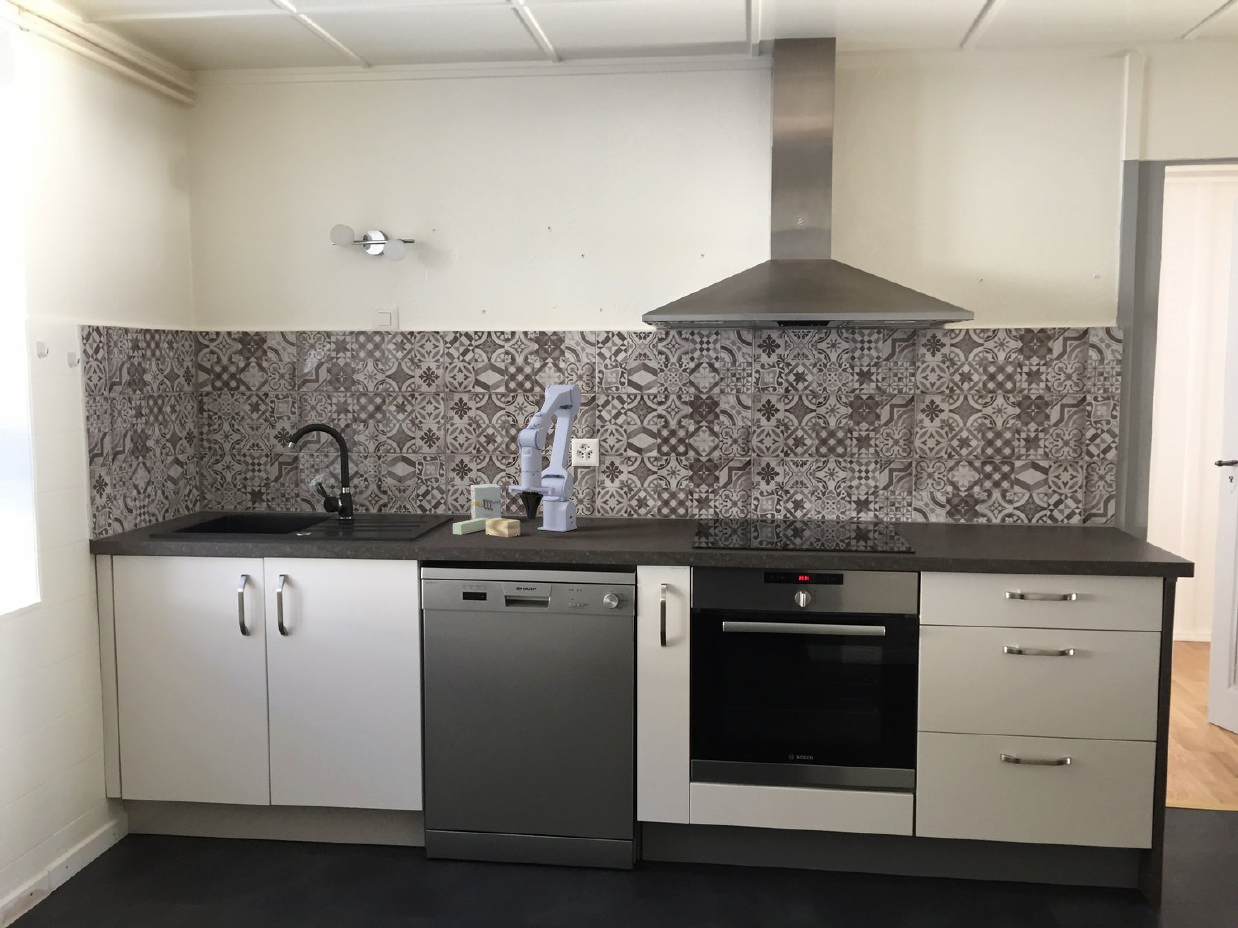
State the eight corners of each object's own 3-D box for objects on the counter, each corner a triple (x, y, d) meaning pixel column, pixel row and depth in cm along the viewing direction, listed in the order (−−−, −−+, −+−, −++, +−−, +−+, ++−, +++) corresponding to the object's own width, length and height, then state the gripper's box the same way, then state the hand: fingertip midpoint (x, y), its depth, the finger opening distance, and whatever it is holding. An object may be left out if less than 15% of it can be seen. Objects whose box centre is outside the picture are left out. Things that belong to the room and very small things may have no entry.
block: (520, 535, 285) (519, 520, 285) (507, 537, 281) (507, 522, 281) (498, 532, 291) (497, 517, 290) (485, 534, 287) (485, 519, 286)
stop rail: (489, 528, 298) (489, 518, 298) (461, 534, 286) (461, 524, 285) (481, 527, 299) (481, 517, 299) (452, 533, 287) (452, 523, 287)
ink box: (470, 520, 314) (469, 484, 313) (496, 519, 316) (496, 483, 315) (474, 524, 305) (474, 486, 304) (501, 523, 308) (501, 486, 307)
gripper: (502, 471, 280) (502, 518, 281) (545, 473, 273) (545, 522, 274) (516, 469, 286) (516, 515, 287) (558, 471, 279) (558, 519, 280)
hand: (531, 518), depth 281 cm, fingers closed
